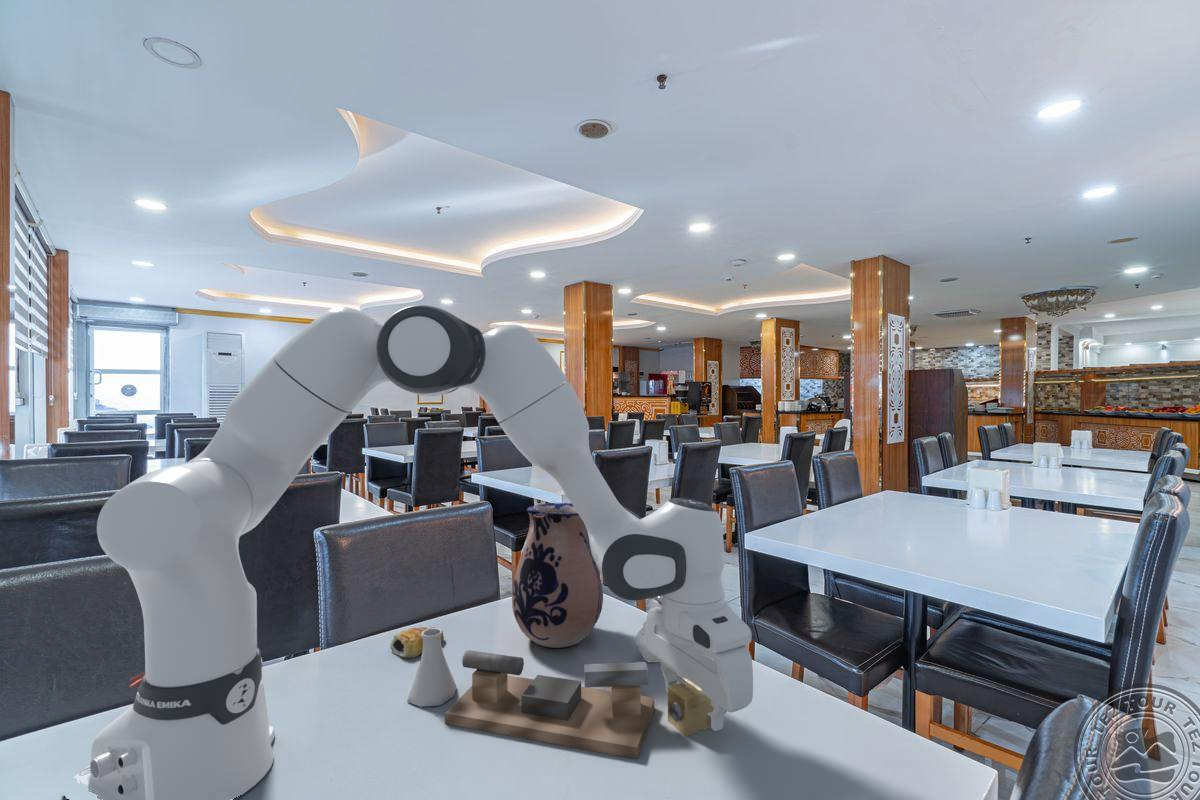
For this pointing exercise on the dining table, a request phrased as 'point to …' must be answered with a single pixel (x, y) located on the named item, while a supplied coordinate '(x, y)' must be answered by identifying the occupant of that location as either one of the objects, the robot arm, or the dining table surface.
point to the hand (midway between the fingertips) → (693, 709)
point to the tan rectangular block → (688, 708)
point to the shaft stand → (557, 704)
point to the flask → (432, 673)
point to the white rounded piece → (641, 645)
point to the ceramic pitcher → (556, 579)
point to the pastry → (409, 642)
